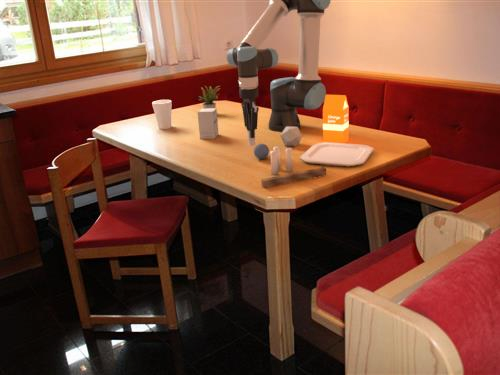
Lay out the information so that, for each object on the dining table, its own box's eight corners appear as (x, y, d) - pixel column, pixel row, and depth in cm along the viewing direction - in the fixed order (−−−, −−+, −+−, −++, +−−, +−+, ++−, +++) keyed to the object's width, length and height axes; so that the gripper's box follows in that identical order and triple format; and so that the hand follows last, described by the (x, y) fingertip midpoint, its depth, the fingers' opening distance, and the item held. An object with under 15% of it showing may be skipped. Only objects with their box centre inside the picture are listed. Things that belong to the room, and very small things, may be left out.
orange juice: (329, 138, 228) (328, 92, 221) (348, 139, 224) (349, 93, 217) (322, 143, 222) (322, 96, 214) (343, 145, 218) (343, 97, 210)
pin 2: (291, 169, 193) (290, 147, 190) (294, 171, 191) (293, 149, 188) (285, 170, 193) (284, 148, 189) (288, 172, 190) (287, 150, 187)
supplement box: (215, 138, 238) (212, 111, 234) (199, 139, 240) (196, 111, 235) (219, 134, 245) (216, 107, 240) (204, 134, 246) (201, 108, 242)
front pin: (279, 167, 196) (278, 146, 193) (281, 169, 194) (281, 147, 191) (273, 168, 195) (272, 147, 192) (276, 170, 193) (275, 148, 190)
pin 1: (276, 172, 191) (275, 150, 188) (279, 174, 189) (278, 151, 186) (270, 173, 191) (269, 151, 187) (273, 175, 188) (272, 152, 185)
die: (290, 150, 217) (303, 131, 215) (274, 139, 219) (287, 120, 217) (295, 152, 224) (308, 133, 222) (279, 140, 227) (292, 122, 225)
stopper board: (323, 173, 187) (323, 167, 186) (326, 175, 185) (326, 168, 184) (261, 186, 179) (261, 179, 178) (264, 188, 177) (263, 181, 176)
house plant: (230, 112, 286) (227, 82, 280) (218, 118, 274) (216, 87, 268) (207, 111, 292) (204, 81, 286) (194, 117, 280) (191, 86, 274)
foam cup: (152, 129, 262) (148, 103, 257) (161, 124, 270) (158, 99, 265) (168, 130, 258) (165, 104, 254) (177, 125, 266) (174, 99, 261)
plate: (361, 170, 188) (361, 165, 188) (296, 165, 199) (296, 159, 198) (376, 150, 209) (376, 145, 208) (316, 146, 219) (316, 141, 219)
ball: (265, 155, 211) (265, 140, 209) (271, 159, 206) (271, 144, 204) (252, 157, 209) (251, 143, 207) (257, 161, 204) (256, 147, 202)
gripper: (234, 86, 211) (237, 142, 219) (245, 91, 199) (249, 150, 207) (251, 84, 213) (254, 140, 221) (264, 88, 202) (266, 147, 210)
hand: (251, 145), depth 214 cm, fingers closed
